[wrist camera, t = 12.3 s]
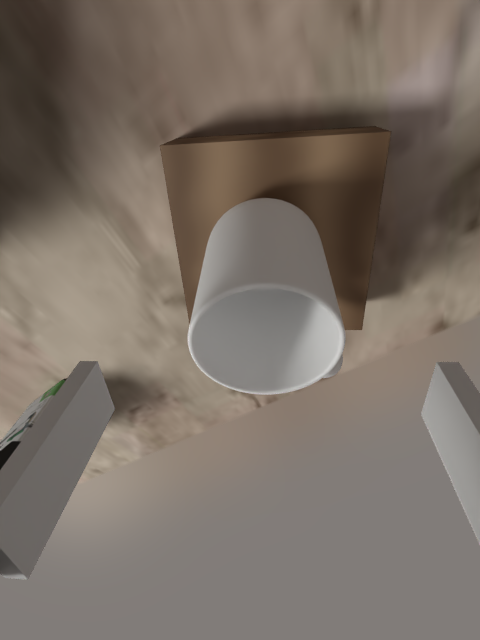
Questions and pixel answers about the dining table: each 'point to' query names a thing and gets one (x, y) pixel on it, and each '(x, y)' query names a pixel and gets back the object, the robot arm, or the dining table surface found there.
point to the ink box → (29, 416)
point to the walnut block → (284, 196)
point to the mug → (266, 302)
